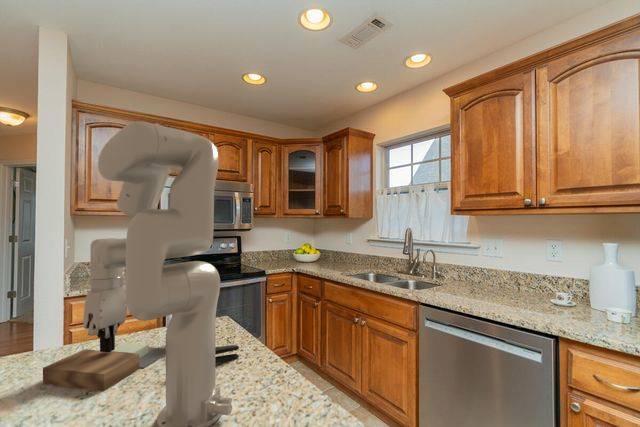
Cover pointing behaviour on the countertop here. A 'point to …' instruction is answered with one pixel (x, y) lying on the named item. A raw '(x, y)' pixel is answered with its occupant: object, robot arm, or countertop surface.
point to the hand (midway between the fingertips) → (107, 350)
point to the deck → (91, 369)
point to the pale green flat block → (132, 348)
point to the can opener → (225, 357)
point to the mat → (151, 356)
